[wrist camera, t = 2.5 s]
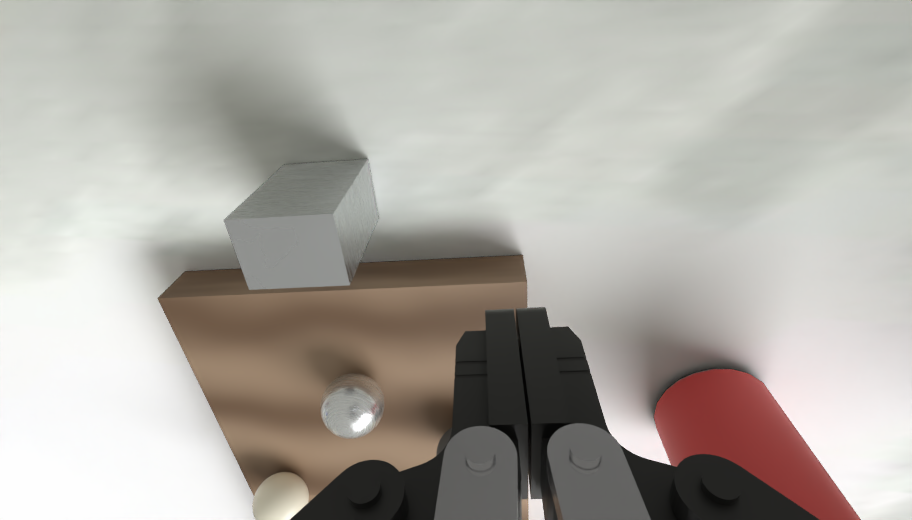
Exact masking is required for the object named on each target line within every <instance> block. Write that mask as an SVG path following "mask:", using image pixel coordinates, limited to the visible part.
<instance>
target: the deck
mask: <svg viewBox="0 0 912 520" xmlns="http://www.w3.org/2000/svg"><path fill="white" fill-rule="evenodd" d="M158 300H159V302H160V304H161V306H162V308H163V311H164V313H165V315H166V317H167V319H168V321H169V323H170V325H171V327H172V329H173V331H174V333H175V335H176V337H177V339H178V341H179V343H180V345H181V347H182V349H183V351H184V354H185V356H186V358H187V360H188V362H189V364H190V366H191V368H192V370H193V372H194V374H195V376H196V378H197V380H198V382H199V384H200V386H201V388H202V390H203V392H204V395H205V397H206V399H207V401H208V403H209V405H210V407H211V409H212V411H213V413H214V415H215V417H216V419H217V421H218V423H219V425H220V427H221V429H222V431H223V433H224V436H225V438H226V440H227V442H228V444H229V446H230V448H231V450H232V452H233V454H234V456H235V458H236V460H237V462H238V464H239V466H240V468H241V470H242V472H243V474H244V476H245V479H246V481H247V483H248V485H249V487H250V489H251V491H252V493H253V495H255V493H256V491H257V489H258V487H259V486H260V485H261V483H262V482H263V481H264V480H266V479H267V478H268V477H270V476H271V475H274V474H276V473H280V472H291V473H294V474H296V475H298V476H299V477H301V478H302V479H303V481H304V482H305V484H306V486H307V488H308V492H309V501H308V503H309V502H310V501H311V500H312V499H313V498H314V497H315V496H316V495H317V494H319V493H320V492H321V491H322V490H323V489H324V488H325V487H326V486H327V485H328V484H330V483H331V482H332V481H333V480H334V479H335V478H336V477H337V476H338V475H340V474H341V473H342V472H343V471H344V470H346V469H347V468H348V467H350V466H352V465H354V464H356V463H358V462H362V461H366V460H381V461H385V462H388V463H390V464H391V465H393V466H394V467H395V468H396V469H397V470H398V471H399V472H400V471H403V470H406V469H409V468H412V467H415V466H418V465H421V464H423V463H426V462H428V461H429V460H431V459H433V458H434V457H436V452H437V446H438V443H439V441H440V439H441V437H442V436H443V435H444V433H445V432H446V431H447V430H449V429H450V428H452V419H453V398H454V378H455V357H456V345H457V343H458V342H459V340H460V338H461V337H462V335H463V334H464V332H465V331H481V330H486V322H485V310H497V309H514V315H515V323H516V309H518V308H527V279H526V273H525V267H524V260H523V255H513V256H493V257H472V258H452V259H431V260H411V261H390V262H370V263H359V265H358V268H357V270H356V272H355V275H354V277H353V279H352V282H351V284H350V285H346V286H324V287H302V288H280V289H258V290H249V288H248V285H247V283H246V280H245V277H244V274H243V272H242V269H227V270H206V271H186V272H184V273H183V274H182V275H181V276H180V277H179V278H178V279H177V280H176V281H175V282H174V283H173V284H172V285H171V286H170V287H169V288H168V289H167V290H166V291H165V292H164V293H163V294H162V295H160V296H159V297H158ZM350 373H359V374H363V375H366V376H368V377H370V378H372V379H373V380H374V381H375V382H376V383H377V384H378V385H379V387H380V388H381V390H382V393H383V396H384V412H383V415H382V418H381V420H380V422H379V423H378V425H377V426H376V427H375V428H374V429H373V430H372V431H371V432H370V433H368V434H366V435H365V436H362V437H359V438H354V439H346V438H341V437H339V436H336V435H335V434H333V433H332V432H331V431H330V430H328V428H327V427H326V426H325V424H324V422H323V420H322V417H321V412H320V404H321V399H322V396H323V394H324V392H325V390H326V388H327V387H328V386H329V384H330V383H331V382H333V381H334V380H335V379H337V378H338V377H340V376H342V375H345V374H350ZM522 520H528V499H522Z"/></svg>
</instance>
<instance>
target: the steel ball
mask: <svg viewBox="0 0 912 520" xmlns="http://www.w3.org/2000/svg"><path fill="white" fill-rule="evenodd" d="M320 412H321V417H322V420H323V422H324V424H325V426H326V427H327V428H328V430H330V431H331V432H332V433H333V434H335V435H336V436H339V437H341V438H346V439H354V438H359V437H362V436H365V435H366V434H368V433H370V432H371V431H372V430H373V429H374V428H375V427H376V426H377V425H378V423H379V422H380V420H381V418H382V415H383V412H384V396H383V393H382V390H381V388H380V387H379V385H378V384H377V383H376V382H375V381H374V380H373V379H372V378H370V377H368V376H366V375H363V374H359V373H350V374H345V375H342V376H340V377H338V378H337V379H335V380H334V381H333V382H331V383H330V384H329V386H328V387H327V388H326V390H325V392H324V394H323V396H322V399H321V404H320Z"/></svg>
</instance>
